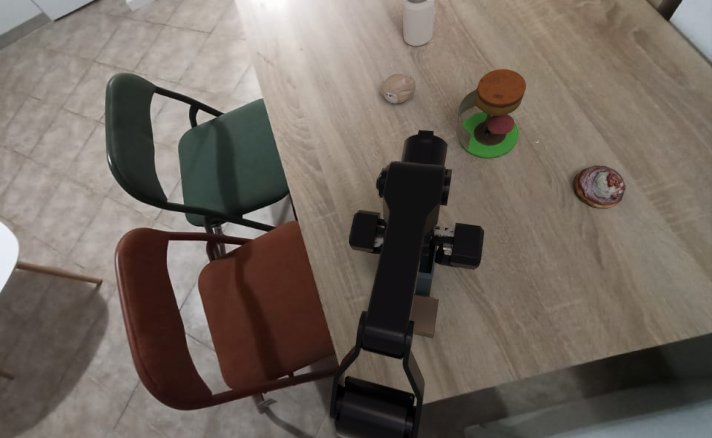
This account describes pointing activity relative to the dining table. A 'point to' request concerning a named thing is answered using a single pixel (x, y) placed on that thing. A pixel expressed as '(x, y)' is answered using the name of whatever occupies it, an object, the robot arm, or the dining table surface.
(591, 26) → the dining table surface
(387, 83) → the beige rounded lump
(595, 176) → the pastry
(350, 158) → the dining table surface
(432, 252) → the bin
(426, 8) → the can
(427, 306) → the metal block
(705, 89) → the dining table surface
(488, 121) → the toy burger
